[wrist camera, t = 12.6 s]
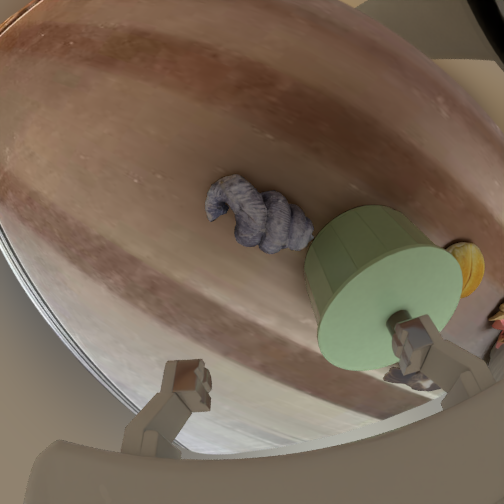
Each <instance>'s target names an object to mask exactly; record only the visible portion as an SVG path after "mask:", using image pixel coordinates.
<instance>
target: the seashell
mask: <svg viewBox="0 0 504 504" xmlns="http://www.w3.org/2000/svg"><path fill="white" fill-rule="evenodd" d="M225 203H227V204H228V205H229V206H230V207H231V209H232V210H233V212H234V213H235V218H236V226H235V231H234V234H235V238H236V241H237V242H238V243H239V244H241V245H243V246H245V247H254V246H256V245H259V248H260V250H262V251H263V252H265V253H268V254H274V253H277V252H279V251H280V250H281V249H284V248H289V249H290V250H295V251H300V250H302V249H303V248H305V247H306V246H307V244H308V242H309V241H311V240H312V239H313V238H314V237H313V236H312V232H313V230H314V227H313V224H312V221H311V220H310V219H309V218H307V217H305V214H304V212H303V211H302V209H301V208H300V207H298V206H297V205H295V204H288V202H287V200H286V198H285V197H284V196H283V195H282V194H281V193H279V192H276V191H275V190H273V191H267V192H262V193H259V192H257V189H255V188H254V186H252V185H251V183H249V182H248V181H247V180H245V178H243V177H242V176H240V175H238V174H233V175H231V176H226V177H224V178H221V179H219V180H218V181H217V182H215V183H214V184H212V185H211V188H210V189H209V191H208V192H207V198H206V201H205V211H206V213H207V218H208V220H209V221H210V222H212V221H214V220H215V219H216V218H218V217H219V216H220V215H223V214H226V213H227V211H228V209H229V207H228V205H226V204H225Z"/></svg>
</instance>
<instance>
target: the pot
mask: <svg viewBox="0 0 504 504" xmlns="http://www.w3.org/2000/svg"><path fill="white" fill-rule="evenodd" d="M413 244H431V245H435V244H434V243H433V242H432V241H431V240H430V239H429V238H428V237H427V236H426V235H425V234H424V233H423V232H421V231H420V230H419V229H418V228H417V227H416V226H415V225H414V224H413V223H412V222H411V221H410V220H409V219H408V218H406V217H405V216H404V215H403V214H402V213H401V212H399V211H396V210H395V209H392V208H390V207H386V206H381V205H367V206H361V207H357V208H354V209H351V210H348V211H346V212H345V213H343V214H341V215H339V216H338V217H336V218H334V219H333V220H332V221H331V222H329V223H328V224H327V225H326V226H325V227H324V228H323V229H322V230H321V231H320V232H319V234H318V235H317V236H316V238H315V239H314V241H313V242H312V244H311V246H310V248H309V250H308V253H307V256H306V259H305V265H304V277H305V282H306V289H307V292H308V296H309V299H310V302H311V305H312V309H313V312H314V315H315V319H316V322H317V325H318V324H319V319H320V317H321V314H322V312H323V310H324V308H325V306H326V304H327V303H328V301H329V300H330V298H331V297H332V295H333V294H334V293H335V291H336V290H337V289H338V288H339V287H340V286H341V285H342V283H343V282H344V281H346V280H347V279H348V278H349V277H350V276H351V275H352V274H353V273H354V272H356V271H357V270H358V269H360V268H361V267H362V266H363V265H365V264H367V263H368V262H370V261H371V260H373V259H374V258H376V257H378V256H380V255H382V254H384V253H386V252H389V251H391V250H393V249H396V248H399V247H403V246H407V245H413Z"/></svg>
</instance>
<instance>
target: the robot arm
mask: <svg viewBox="0 0 504 504" xmlns="http://www.w3.org/2000/svg"><path fill="white" fill-rule="evenodd" d="M493 3H494V5H495V7H496V9H497V11H498V13H499V15H500V17H501V19H502V21H503V22H504V0H493ZM394 330H395V332H396V333H395V334H394V335H393V336H392V341H391V342H392V349H393V352H394V355H395V356H396V357H398V358H399V359H400V360H399V366H400V369H401V371H402V373H403V376H404V375H407V374H411V373H414V372H417V371H420V372H422V373H423V374H424V375H425V376H427V377H428V378H429V379H430V380H432V381H433V382H434V383H435V384H437V385H438V386H439V387H440V388H442V389H443V390H444V391H446V392H447V395H446V396H445V398H444V399H443V400H442V403H441V406H442V408H443V411H441V412H438V413H436V414H434V415H431V416H429V417H427V418H424V419H422V420H419V421H417V422H414V423H411V424H408V425H406V426H403V427H400V428H397V429H394V430H391V431H388V432H385V433H382V434H379V435H375V436H372V437H369V438H365V439H361V440H357V441H354V442H350V443H346V444H341V445H337V446H332V447H327V448H323V449H317V450H312V451H307V452H300V453H293V454H286V455H278V456H269V457H259V458H245V459H223V460H221V459H220V460H198V459H196V460H195V459H181V451H180V450H179V449H178V448H177V447H175V446H174V445H173V444H172V442H173V440H174V439H175V438H176V436H177V435H178V433H179V432H180V430H181V429H182V427H183V426H184V424H185V423H186V421H187V420H188V418H189V417H190V415H191V414H192V413H191V412H205V411H210V407H211V397H210V396H209V394H208V393H209V392H210V391H211V389H212V381H211V375H210V372H209V370H208V369H206V368H205V363H204V361H203V360H202V359H193V360H174V361H167V363H166V365H165V370H164V375H163V380H162V385H161V391H160V393H156V395H155V396H154V397H153V398H152V399H151V400H150V401H149V402H148V403H147V405H146V406H145V407H144V408H143V409H142V410H141V411H140V412H139V413H138V414H137V415H136V417H135V418H134V419H133V420H132V421H131V422H130V423H129V424H128V425H127V426H126V428H125V433H124V438H123V443H122V448H121V453H119V452H114V451H108V450H102V449H98V448H93V447H88V446H84V445H79V444H76V443H72V442H68V441H64V440H56V441H55V442H53V443H52V444H51V445H49V446H48V447H47V448H46V449H45V450H44V451H43V452H42V453H40V454H39V455H38V457H37V458H36V460H35V462H34V464H33V467H32V469H31V473H30V476H29V480H28V484H27V488H26V493H25V498H24V503H23V504H504V378H503V379H502V380H500V381H498V382H497V383H496V381H495V379H494V377H493V375H492V373H491V372H490V370H489V368H488V366H487V364H486V363H485V361H483V360H482V359H480V358H478V357H476V356H475V355H473V354H471V353H469V352H468V351H466V350H464V349H462V348H461V347H459V346H457V345H455V344H453V343H452V342H450V341H448V340H443V338H442V336H441V335H440V333H439V331H438V330H437V328H436V326H435V325H434V323H433V322H432V320H431V318H430V317H429V315H427V314H425V315H422V316H419V317H415V318H411V319H408V320H405V321H402V322H398V323H396V325H395V328H394Z"/></svg>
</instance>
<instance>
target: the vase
mask: <svg viewBox="0 0 504 504" xmlns="http://www.w3.org/2000/svg"><path fill="white" fill-rule="evenodd" d="M496 343H497V342H496ZM496 343H495V345H494V346H493V348H492V350H491V352H490V358H491V359H490V362H489V366H488V368H489V370H490V372H491V373H492V375H493V377H494V379H495V381H496V383H497V382H498V381H500V380H502V379H503V378H504V343H503V344H502V345H501V346H500V347H499V349H497V348H495V347H496Z"/></svg>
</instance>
